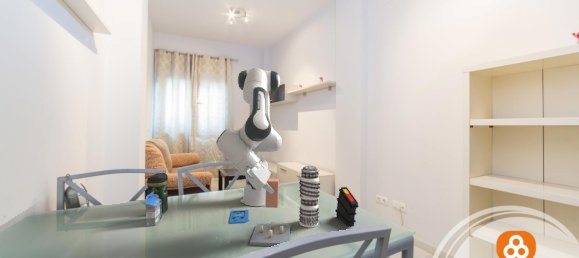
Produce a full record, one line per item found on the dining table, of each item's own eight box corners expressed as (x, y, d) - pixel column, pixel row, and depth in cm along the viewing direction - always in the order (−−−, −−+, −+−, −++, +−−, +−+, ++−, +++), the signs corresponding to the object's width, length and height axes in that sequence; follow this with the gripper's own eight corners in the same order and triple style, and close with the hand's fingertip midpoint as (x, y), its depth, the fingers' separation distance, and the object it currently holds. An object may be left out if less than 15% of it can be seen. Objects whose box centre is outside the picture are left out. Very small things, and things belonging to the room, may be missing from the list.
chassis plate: (257, 226, 102) (257, 217, 102) (290, 227, 102) (290, 218, 102) (249, 245, 86) (249, 235, 86) (288, 246, 86) (288, 236, 86)
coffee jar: (153, 208, 120) (153, 171, 120) (169, 208, 121) (170, 171, 121) (143, 216, 111) (144, 175, 110) (161, 216, 112) (162, 175, 111)
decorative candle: (293, 222, 107) (295, 166, 107) (308, 217, 113) (310, 164, 112) (308, 229, 100) (309, 169, 100) (323, 224, 106) (325, 167, 106)
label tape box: (155, 225, 101) (155, 196, 101) (144, 226, 100) (145, 196, 100) (162, 217, 109) (162, 190, 109) (152, 218, 109) (152, 191, 108)
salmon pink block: (266, 203, 96) (267, 178, 96) (278, 203, 96) (278, 178, 96) (265, 207, 92) (265, 181, 91) (277, 207, 91) (278, 181, 91)
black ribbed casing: (339, 210, 119) (346, 186, 112) (352, 232, 108) (361, 207, 101) (332, 211, 118) (339, 186, 111) (344, 233, 106) (354, 207, 100)
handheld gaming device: (229, 222, 104) (231, 209, 119) (229, 224, 104) (231, 212, 119) (248, 221, 106) (248, 209, 121) (248, 223, 106) (248, 211, 121)
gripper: (249, 163, 83) (277, 192, 83) (259, 155, 104) (281, 179, 104) (236, 175, 84) (264, 204, 83) (248, 165, 104) (270, 189, 104)
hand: (273, 190), depth 94 cm, fingers closed on salmon pink block, 5 cm apart
